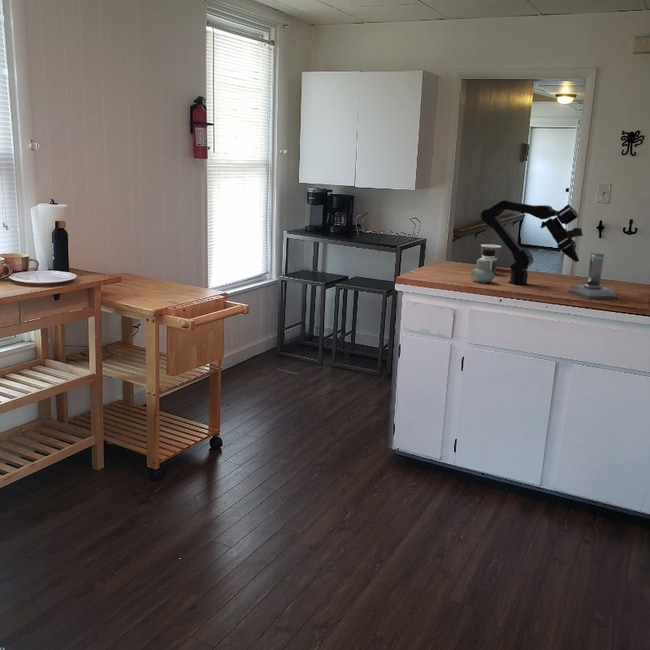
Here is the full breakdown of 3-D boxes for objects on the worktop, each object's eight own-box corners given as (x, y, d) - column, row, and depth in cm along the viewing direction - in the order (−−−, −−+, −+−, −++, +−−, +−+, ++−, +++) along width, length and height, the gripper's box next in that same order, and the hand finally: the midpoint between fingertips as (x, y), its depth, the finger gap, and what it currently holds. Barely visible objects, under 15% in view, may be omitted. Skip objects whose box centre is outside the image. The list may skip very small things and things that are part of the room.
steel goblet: (585, 287, 280) (589, 254, 277) (583, 285, 287) (587, 252, 283) (602, 289, 278) (607, 255, 275) (600, 286, 285) (605, 253, 282)
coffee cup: (501, 271, 339) (503, 247, 336) (480, 270, 339) (483, 246, 336) (496, 267, 349) (498, 244, 346) (476, 267, 349) (478, 243, 346)
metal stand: (588, 299, 275) (589, 290, 274) (567, 292, 288) (568, 284, 287) (617, 298, 279) (618, 290, 278) (595, 291, 292) (596, 283, 291)
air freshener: (495, 283, 302) (498, 261, 299) (479, 284, 299) (481, 261, 297) (483, 279, 312) (485, 258, 309) (467, 279, 309) (469, 258, 307)
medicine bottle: (491, 274, 325) (493, 250, 323) (477, 273, 329) (479, 248, 326) (496, 273, 331) (498, 248, 328) (482, 271, 335) (484, 247, 332)
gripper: (572, 218, 279) (593, 250, 276) (575, 221, 296) (595, 251, 293) (548, 233, 283) (569, 265, 281) (553, 236, 300) (572, 265, 298)
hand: (577, 261), depth 288 cm, fingers open, 9 cm apart
